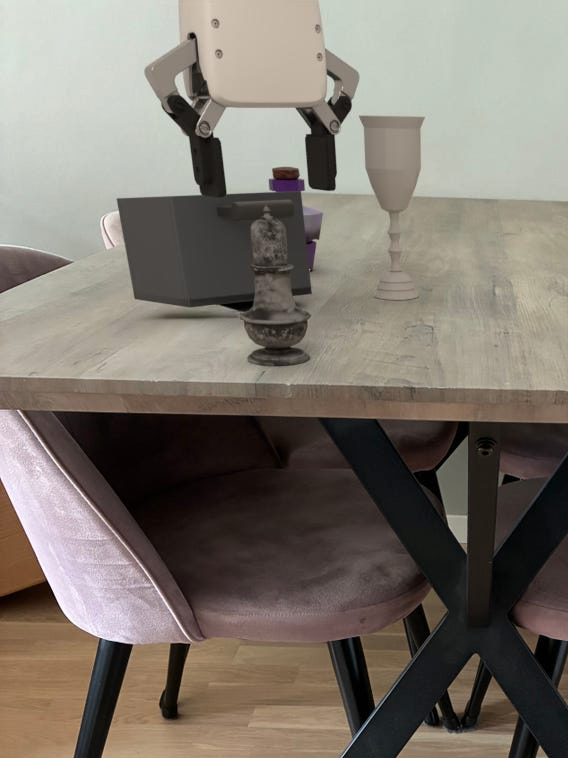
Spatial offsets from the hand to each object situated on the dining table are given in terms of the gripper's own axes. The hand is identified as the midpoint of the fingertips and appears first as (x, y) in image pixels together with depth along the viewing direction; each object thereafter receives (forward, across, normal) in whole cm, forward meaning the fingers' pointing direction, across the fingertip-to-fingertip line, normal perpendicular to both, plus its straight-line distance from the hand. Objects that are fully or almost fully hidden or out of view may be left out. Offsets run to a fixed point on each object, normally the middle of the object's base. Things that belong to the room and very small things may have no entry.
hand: (269, 192), depth 75 cm
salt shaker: (+13, 0, 0) cm, 13 cm away
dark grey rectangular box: (+12, -8, -24) cm, 28 cm away
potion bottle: (+13, -26, -42) cm, 51 cm away
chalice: (+13, -25, -19) cm, 35 cm away
